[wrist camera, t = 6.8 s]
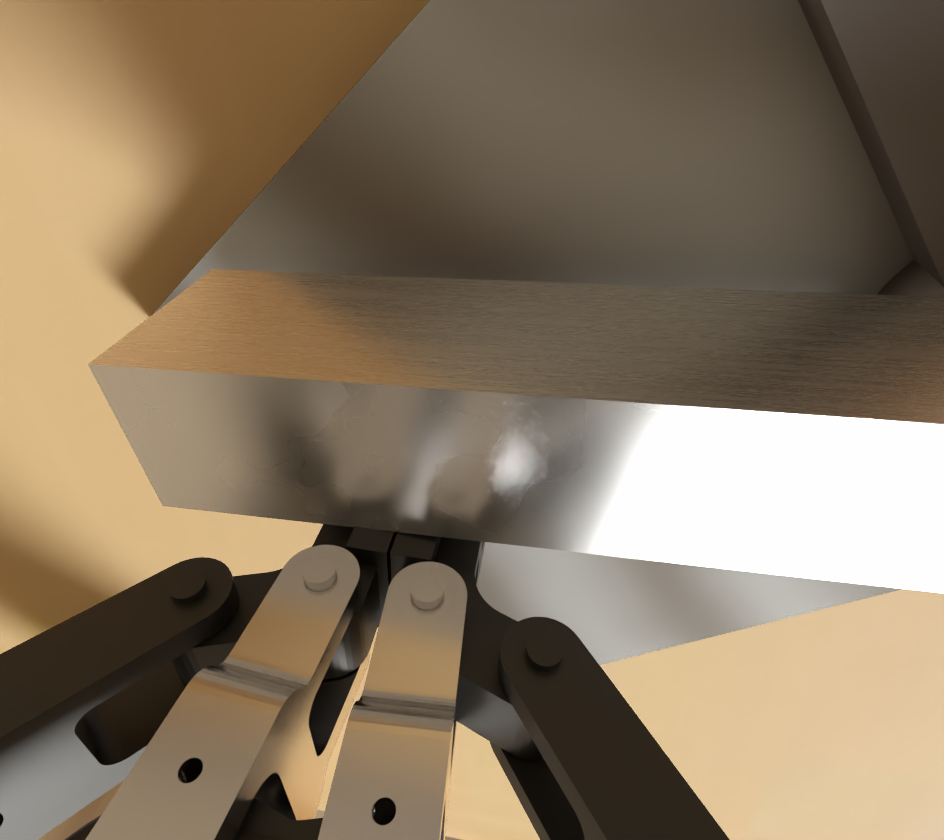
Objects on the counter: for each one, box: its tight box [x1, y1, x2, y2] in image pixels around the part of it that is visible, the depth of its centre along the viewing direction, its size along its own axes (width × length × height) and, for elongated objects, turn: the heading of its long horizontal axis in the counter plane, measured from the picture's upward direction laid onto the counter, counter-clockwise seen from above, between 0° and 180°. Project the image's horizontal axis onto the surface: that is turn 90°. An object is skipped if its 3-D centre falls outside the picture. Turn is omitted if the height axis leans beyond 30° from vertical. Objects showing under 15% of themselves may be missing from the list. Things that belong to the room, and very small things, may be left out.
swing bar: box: [88, 269, 944, 593], centre depth 9 cm, size 17×4×4 cm, turn 93°
